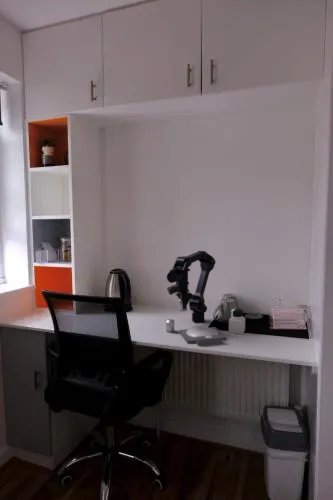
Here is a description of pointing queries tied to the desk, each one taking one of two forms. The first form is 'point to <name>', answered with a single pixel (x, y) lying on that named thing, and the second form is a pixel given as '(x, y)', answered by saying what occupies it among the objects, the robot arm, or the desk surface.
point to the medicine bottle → (237, 322)
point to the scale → (203, 336)
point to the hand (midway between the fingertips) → (182, 308)
